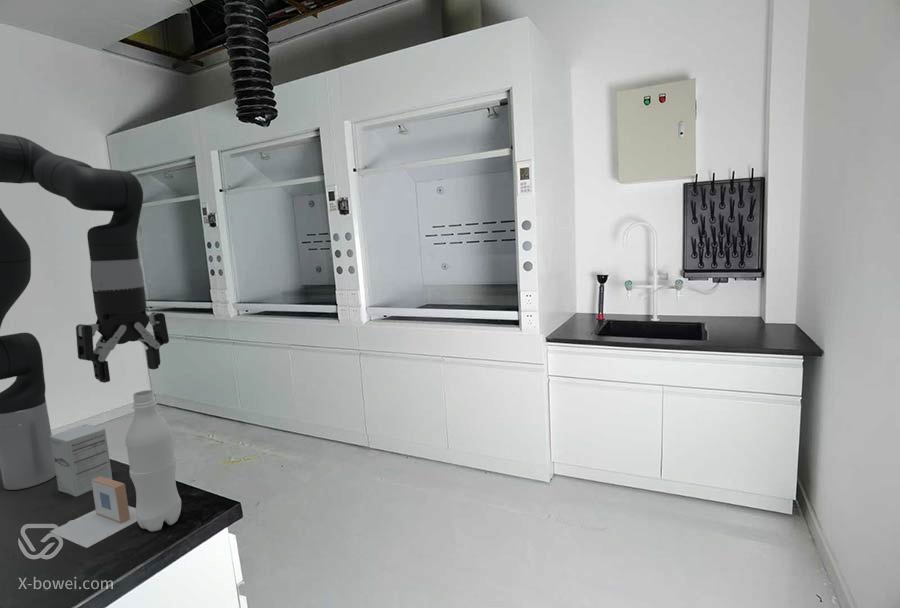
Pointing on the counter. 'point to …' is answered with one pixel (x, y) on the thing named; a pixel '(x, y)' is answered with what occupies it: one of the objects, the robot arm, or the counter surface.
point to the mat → (92, 528)
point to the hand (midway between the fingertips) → (129, 374)
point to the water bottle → (152, 465)
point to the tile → (110, 499)
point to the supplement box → (80, 458)
